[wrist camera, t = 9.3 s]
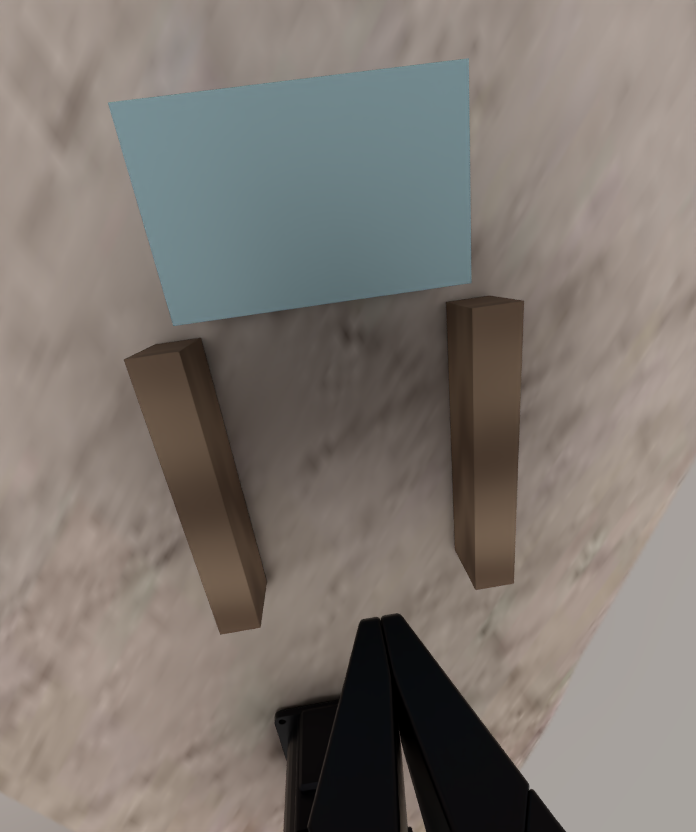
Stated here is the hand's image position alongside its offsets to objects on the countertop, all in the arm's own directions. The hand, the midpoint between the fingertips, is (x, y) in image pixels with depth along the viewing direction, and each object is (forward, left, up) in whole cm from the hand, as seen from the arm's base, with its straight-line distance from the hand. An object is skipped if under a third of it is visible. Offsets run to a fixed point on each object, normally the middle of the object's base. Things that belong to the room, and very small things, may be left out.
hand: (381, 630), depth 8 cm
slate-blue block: (+9, 0, -12) cm, 15 cm away
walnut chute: (-2, 0, -12) cm, 12 cm away
